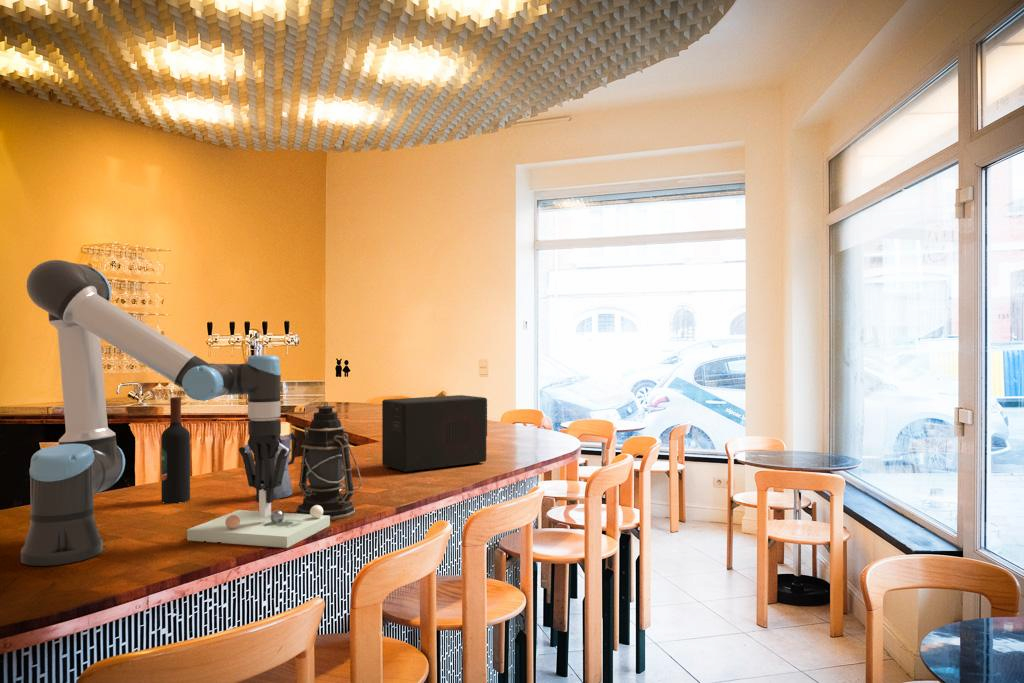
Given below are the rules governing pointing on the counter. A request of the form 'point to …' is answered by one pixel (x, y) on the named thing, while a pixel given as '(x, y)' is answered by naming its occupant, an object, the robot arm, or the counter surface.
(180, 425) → the wine bottle
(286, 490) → the moka pot
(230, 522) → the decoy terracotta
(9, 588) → the counter surface
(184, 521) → the counter surface
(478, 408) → the black rectangular block
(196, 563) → the counter surface
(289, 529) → the board
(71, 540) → the robot arm
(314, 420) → the lantern
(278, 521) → the steel ball
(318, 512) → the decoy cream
